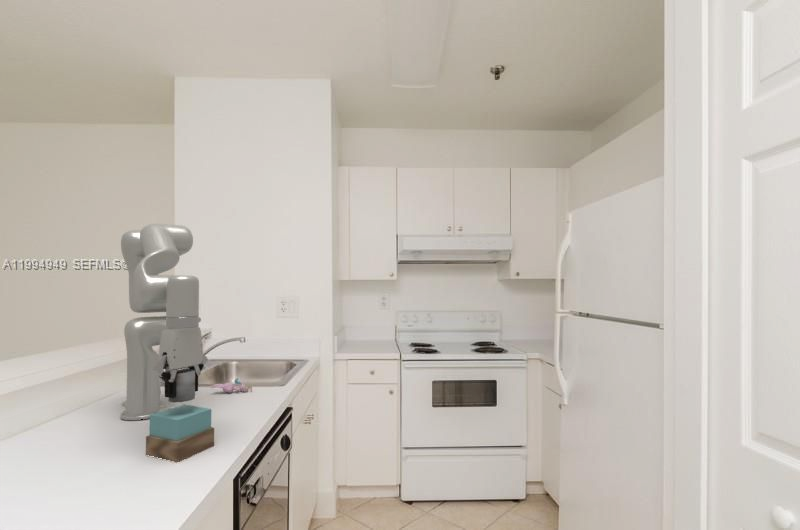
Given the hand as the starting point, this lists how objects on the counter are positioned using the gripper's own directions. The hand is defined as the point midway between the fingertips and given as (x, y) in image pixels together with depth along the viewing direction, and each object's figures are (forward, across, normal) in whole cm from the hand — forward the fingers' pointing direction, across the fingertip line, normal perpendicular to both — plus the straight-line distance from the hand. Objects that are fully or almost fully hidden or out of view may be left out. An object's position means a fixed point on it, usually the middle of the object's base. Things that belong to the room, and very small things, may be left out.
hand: (181, 393), depth 108 cm
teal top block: (+10, 0, -1) cm, 10 cm away
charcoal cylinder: (+1, 0, 0) cm, 1 cm away
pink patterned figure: (+15, -49, -31) cm, 60 cm away
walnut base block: (+15, 0, 0) cm, 15 cm away
